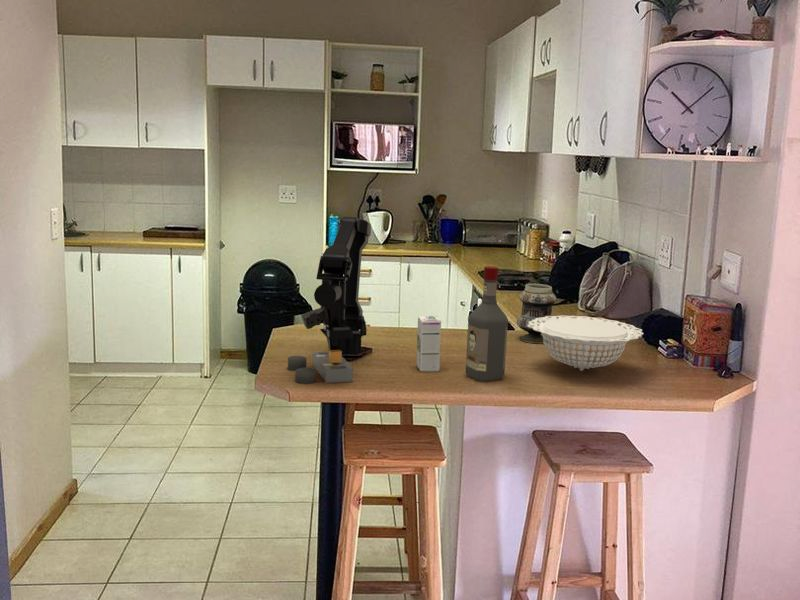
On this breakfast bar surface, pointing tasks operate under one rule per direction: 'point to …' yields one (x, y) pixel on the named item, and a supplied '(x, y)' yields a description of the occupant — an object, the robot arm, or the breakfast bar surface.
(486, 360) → the liquor
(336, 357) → the orange upright box
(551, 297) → the apothecary jar
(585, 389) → the breakfast bar surface
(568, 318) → the colander
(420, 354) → the syrup box
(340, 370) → the grey flat block
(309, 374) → the coil
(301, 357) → the coil
